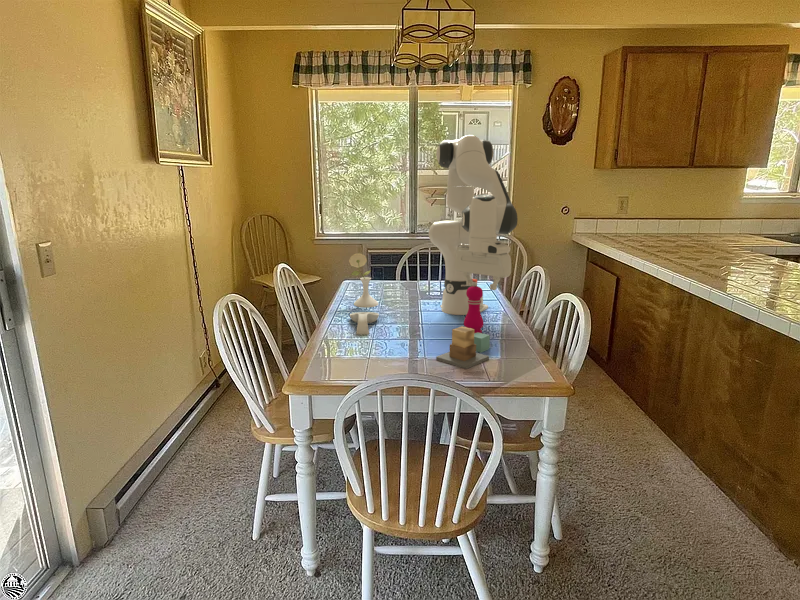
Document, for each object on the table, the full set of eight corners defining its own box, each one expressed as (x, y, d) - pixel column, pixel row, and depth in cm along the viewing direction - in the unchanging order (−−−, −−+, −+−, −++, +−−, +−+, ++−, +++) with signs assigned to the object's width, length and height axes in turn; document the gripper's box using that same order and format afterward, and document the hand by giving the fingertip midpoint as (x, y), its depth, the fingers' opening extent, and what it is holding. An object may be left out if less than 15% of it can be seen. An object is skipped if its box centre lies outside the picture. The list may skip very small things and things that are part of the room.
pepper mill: (479, 331, 192) (481, 279, 187) (485, 337, 185) (487, 283, 180) (461, 332, 190) (462, 280, 186) (466, 338, 184) (468, 284, 179)
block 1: (461, 341, 164) (461, 326, 163) (473, 344, 161) (474, 329, 160) (451, 344, 161) (452, 329, 160) (464, 348, 157) (465, 332, 156)
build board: (458, 350, 170) (459, 347, 170) (488, 359, 162) (489, 356, 162) (436, 359, 162) (436, 356, 162) (466, 369, 154) (466, 365, 154)
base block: (460, 352, 166) (461, 340, 165) (475, 356, 162) (476, 344, 161) (449, 356, 162) (449, 344, 161) (464, 361, 158) (464, 348, 157)
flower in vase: (380, 305, 231) (379, 251, 226) (376, 311, 220) (376, 255, 215) (352, 305, 233) (350, 251, 227) (347, 311, 222) (345, 254, 216)
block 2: (477, 346, 175) (477, 332, 174) (489, 349, 172) (489, 335, 171) (468, 349, 172) (469, 335, 171) (480, 352, 168) (481, 338, 167)
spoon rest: (350, 319, 209) (350, 303, 208) (378, 319, 210) (378, 302, 208) (347, 337, 186) (347, 318, 185) (379, 336, 187) (379, 318, 185)
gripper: (451, 244, 168) (450, 284, 172) (504, 249, 155) (502, 293, 158) (462, 242, 173) (461, 282, 176) (514, 247, 159) (512, 290, 162)
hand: (481, 287), depth 167 cm, fingers open, 8 cm apart
